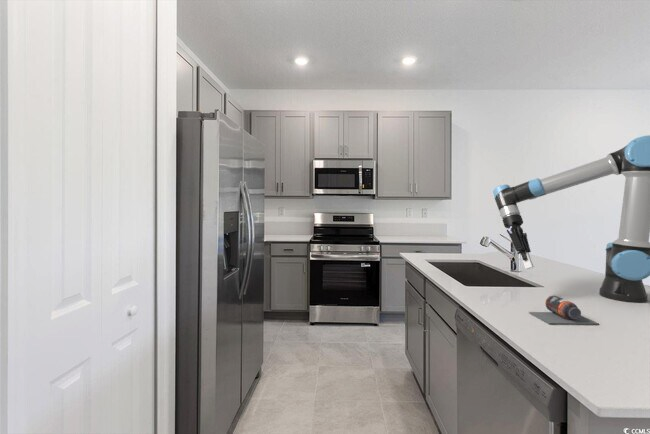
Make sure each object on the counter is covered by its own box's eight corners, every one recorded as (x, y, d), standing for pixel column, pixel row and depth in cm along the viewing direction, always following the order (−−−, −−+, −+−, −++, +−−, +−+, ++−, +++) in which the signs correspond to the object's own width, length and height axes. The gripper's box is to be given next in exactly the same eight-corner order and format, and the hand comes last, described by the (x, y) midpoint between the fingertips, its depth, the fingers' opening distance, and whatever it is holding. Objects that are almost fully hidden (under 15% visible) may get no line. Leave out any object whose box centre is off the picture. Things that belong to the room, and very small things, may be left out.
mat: (574, 313, 118) (574, 312, 118) (599, 325, 107) (599, 323, 107) (529, 313, 118) (529, 311, 118) (549, 324, 107) (549, 323, 107)
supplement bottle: (555, 314, 119) (577, 326, 108) (541, 305, 119) (561, 316, 108) (564, 300, 119) (588, 311, 108) (550, 291, 119) (572, 301, 108)
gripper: (510, 223, 153) (528, 272, 142) (495, 217, 146) (512, 268, 135) (526, 216, 148) (546, 267, 137) (511, 210, 141) (531, 263, 130)
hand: (529, 267), depth 136 cm, fingers closed
